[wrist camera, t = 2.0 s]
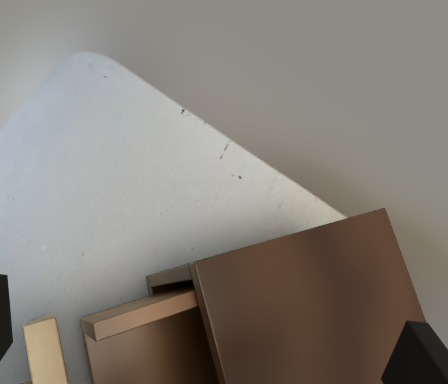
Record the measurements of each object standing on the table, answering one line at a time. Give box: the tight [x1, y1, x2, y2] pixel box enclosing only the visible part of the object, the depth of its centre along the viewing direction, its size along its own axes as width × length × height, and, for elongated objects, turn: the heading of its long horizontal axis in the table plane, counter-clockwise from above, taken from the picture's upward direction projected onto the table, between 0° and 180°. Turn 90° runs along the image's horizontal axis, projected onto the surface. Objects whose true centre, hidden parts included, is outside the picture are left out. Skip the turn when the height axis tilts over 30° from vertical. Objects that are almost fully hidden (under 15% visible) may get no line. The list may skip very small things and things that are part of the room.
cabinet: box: [146, 208, 426, 384], centre depth 23 cm, size 14×12×10 cm
